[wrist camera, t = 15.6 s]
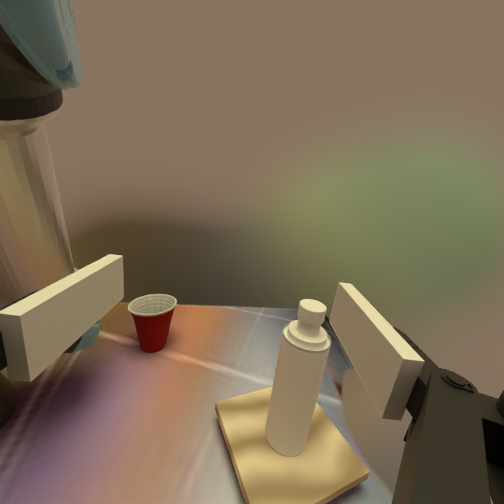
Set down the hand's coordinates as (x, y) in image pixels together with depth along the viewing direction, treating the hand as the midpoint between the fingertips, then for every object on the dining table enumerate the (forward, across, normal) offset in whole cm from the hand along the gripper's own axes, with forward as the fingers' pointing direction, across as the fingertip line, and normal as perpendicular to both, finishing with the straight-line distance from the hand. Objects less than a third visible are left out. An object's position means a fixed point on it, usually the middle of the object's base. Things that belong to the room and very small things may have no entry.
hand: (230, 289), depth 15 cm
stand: (+16, +11, -36) cm, 41 cm away
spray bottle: (+16, +11, -32) cm, 37 cm away
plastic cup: (+38, -19, -36) cm, 56 cm away
